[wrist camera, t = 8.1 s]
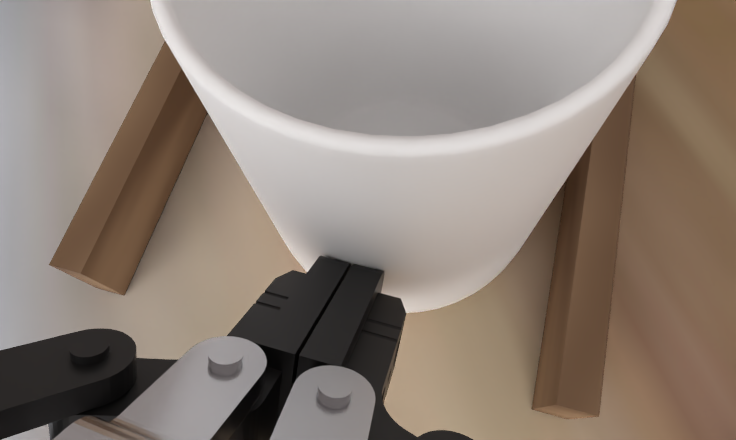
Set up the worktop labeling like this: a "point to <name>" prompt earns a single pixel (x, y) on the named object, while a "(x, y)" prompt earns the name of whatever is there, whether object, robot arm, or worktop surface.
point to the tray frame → (172, 145)
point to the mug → (410, 119)
